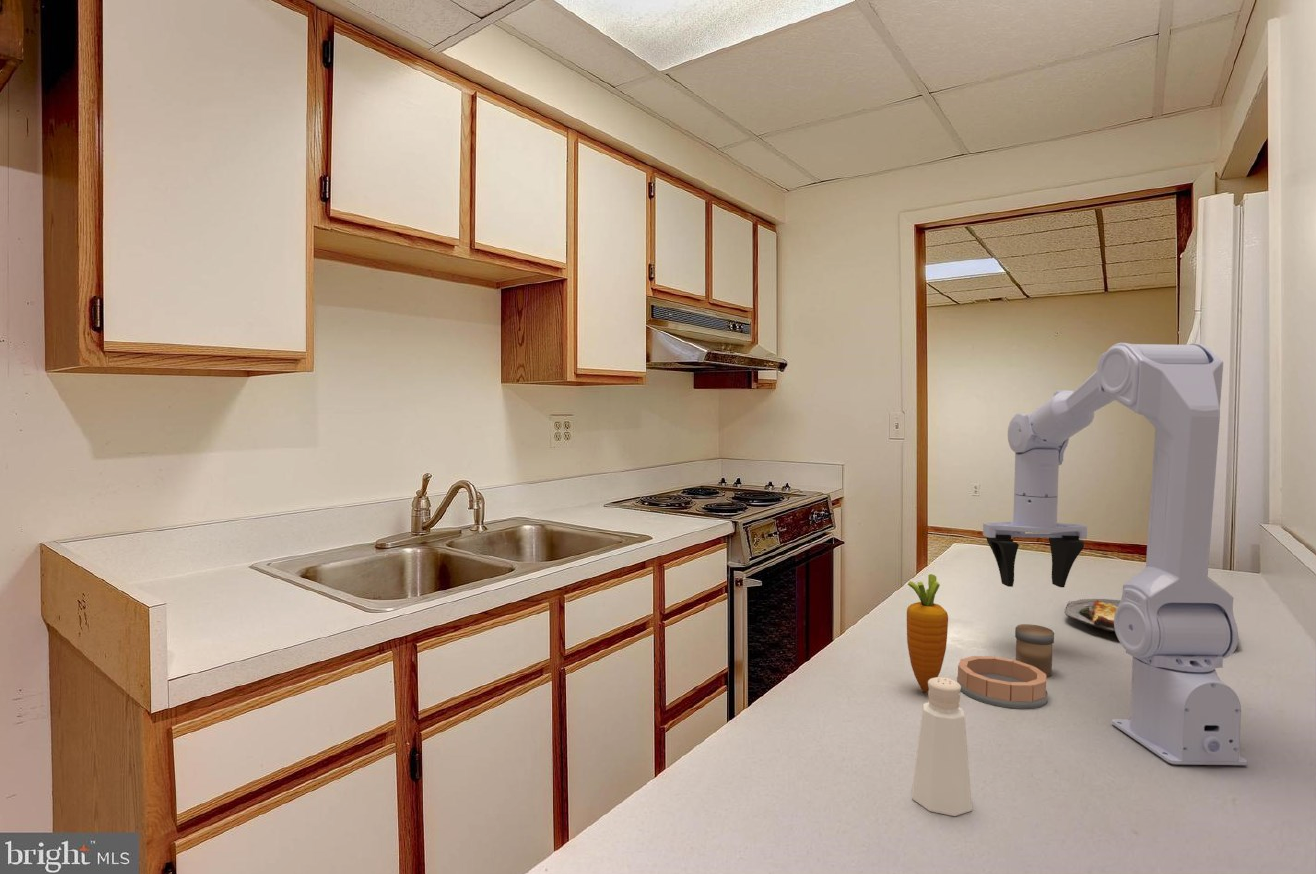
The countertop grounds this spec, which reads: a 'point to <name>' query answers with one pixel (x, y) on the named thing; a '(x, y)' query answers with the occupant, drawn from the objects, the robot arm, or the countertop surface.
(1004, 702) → the coaster
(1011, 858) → the countertop surface
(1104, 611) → the food plate
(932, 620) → the carrot
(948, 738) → the salt shaker
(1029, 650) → the walnut pepper mill
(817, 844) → the countertop surface
